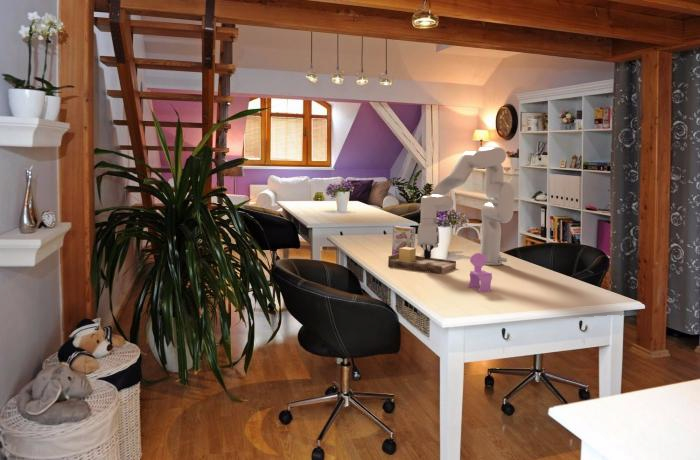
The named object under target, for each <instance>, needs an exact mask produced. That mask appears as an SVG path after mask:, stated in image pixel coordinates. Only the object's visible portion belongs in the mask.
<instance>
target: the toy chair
mask: <svg viewBox="0 0 700 460" xmlns="http://www.w3.org/2000/svg"><path fill="white" fill-rule="evenodd" d="M469 258H470V259H469V261H470V263H471V264H472V265H473V267H474V268H473V269H474V270H470V273H469V278H470V279H469V283H468V285H467V288H479V289H478V291H477V293H481V292H482V293H485V292H492V288H491V287H492V286H491V283H492V281H493V273H491V272H488V271H486V270H482V267H484V266H485V264H486V262H487V257H486V256H485V255H484V254H481V252H477V253H476V252H475V253H474V254H473V255H471V256H470V257H469Z"/></svg>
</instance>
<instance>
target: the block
mask: <svg viewBox="0 0 700 460" xmlns="http://www.w3.org/2000/svg"><path fill="white" fill-rule="evenodd" d="M416 250H417V248H416V247H415V248H410V247H403V248H399V260H401V261H407V262H411V261H414V260H415V256H417V255H416V254H417V251H416Z"/></svg>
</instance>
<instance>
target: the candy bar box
mask: <svg viewBox="0 0 700 460" xmlns="http://www.w3.org/2000/svg"><path fill="white" fill-rule="evenodd" d="M392 229H393V230H392V245H391V246H392V248H391V249H392V251H391V255H395V254H398V253H399V248H403V247H410V248H416V227H410V226H409V227H408V226H401V225H394V226H393V228H392Z"/></svg>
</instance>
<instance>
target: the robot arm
mask: <svg viewBox="0 0 700 460" xmlns="http://www.w3.org/2000/svg"><path fill="white" fill-rule="evenodd" d="M506 158H507V152H506V150H505V149H504V148H503V147H498V146H482V147H479V148H478V149H477V151H476V150H468V151H465V152H463V154H461V156H460V158H459V159H458V161H457V162H456V164H455V165H454V167H453V169H452V170H451V172H450V173H449V174H448V175H446V176H445V177H444V178H443V179H442V180H441V181H440V182H438V183H437V184H436V185H435V187H434V188H433V189H432V191H431V193H430V195H423V196H422V197H421V198H420V221H419V222H420V223H419V224H418V228H417V235H416V236H417V237H416V241H417V242H416V243H417V244H416V245H417V246H418V247H421V249H422V250H423V257H425V259H429V258H432V257H431V256H432V250H433V249H435V248H438V247H439V243H440V232H439V230H440V229H439V221H440V220H439V219H437V211H442V212H446V211H447V212H448V211H450V210H452V208H453V207H454V200H453V198H452V197H451V196H449V195H447V194H448V193H449V192H450V191H452V190H454V189H457V188H458V187H462V186H464V184H465V183H466V182H467V180H468V179H469V177H470V175H471V174H472V172H473V171H474V170H475V169H476V170H480V169H481V170H482V169H485V171H486V172H485V173H486V174H485V175H486V177H485V178H486V179H485V196H486V197H487V198H488V200H489V199H490V200H493V201H488V202H486V203H485V204H483V205H482V207H481V212H480V214H481V222H482V223H481V224H482V227H481V228H482V229H481V243H480V244H481V245H480V253H481V254H484V255H485V256H486V257H487V262H486V264H485V265H487V266H499V265H502V264H503V263H507V262H508V258H507V257H502V254H500V252H501V251H500V250H501V238H502V227H501V223H502V224H507V223H509V222H511V220H512V218H513V216H514V211H515V199H516V198H515V195H516V194H515V193H516V192H515V188H514V186H513V185H512V184H511V183H510V182H508V181H505V180H504V176H505V175H504V174H505V173H504V167H503V165H502V164H503V163H504V162H506ZM494 201H496V202H494ZM437 223H438V224H437ZM485 265H484V266H485Z"/></svg>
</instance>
